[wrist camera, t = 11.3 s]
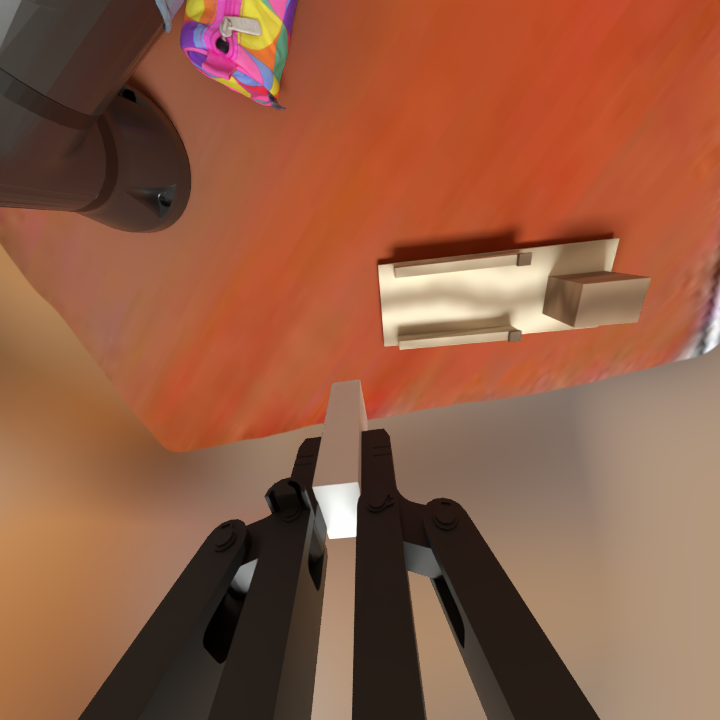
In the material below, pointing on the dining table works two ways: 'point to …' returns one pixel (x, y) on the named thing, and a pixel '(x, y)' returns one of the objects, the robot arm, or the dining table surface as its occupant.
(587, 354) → the dining table surface
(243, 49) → the pencil case
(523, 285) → the railed wooden board
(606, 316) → the walnut block
